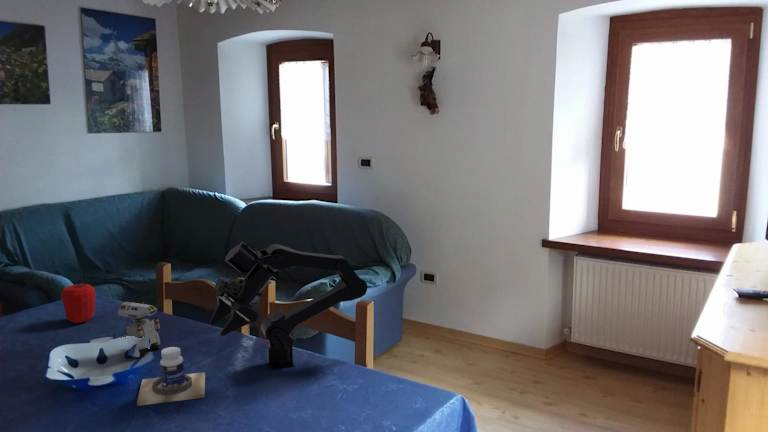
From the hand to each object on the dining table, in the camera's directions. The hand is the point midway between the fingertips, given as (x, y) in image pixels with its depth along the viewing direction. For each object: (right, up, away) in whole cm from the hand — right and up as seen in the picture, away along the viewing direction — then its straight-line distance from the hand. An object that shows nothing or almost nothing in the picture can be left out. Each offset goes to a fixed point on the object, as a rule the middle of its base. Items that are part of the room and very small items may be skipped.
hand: (216, 329), depth 167 cm
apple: (-58, -6, +45) cm, 74 cm away
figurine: (-28, -10, +20) cm, 36 cm away
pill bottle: (-10, -14, -5) cm, 18 cm away
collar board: (-10, -15, -5) cm, 18 cm away
